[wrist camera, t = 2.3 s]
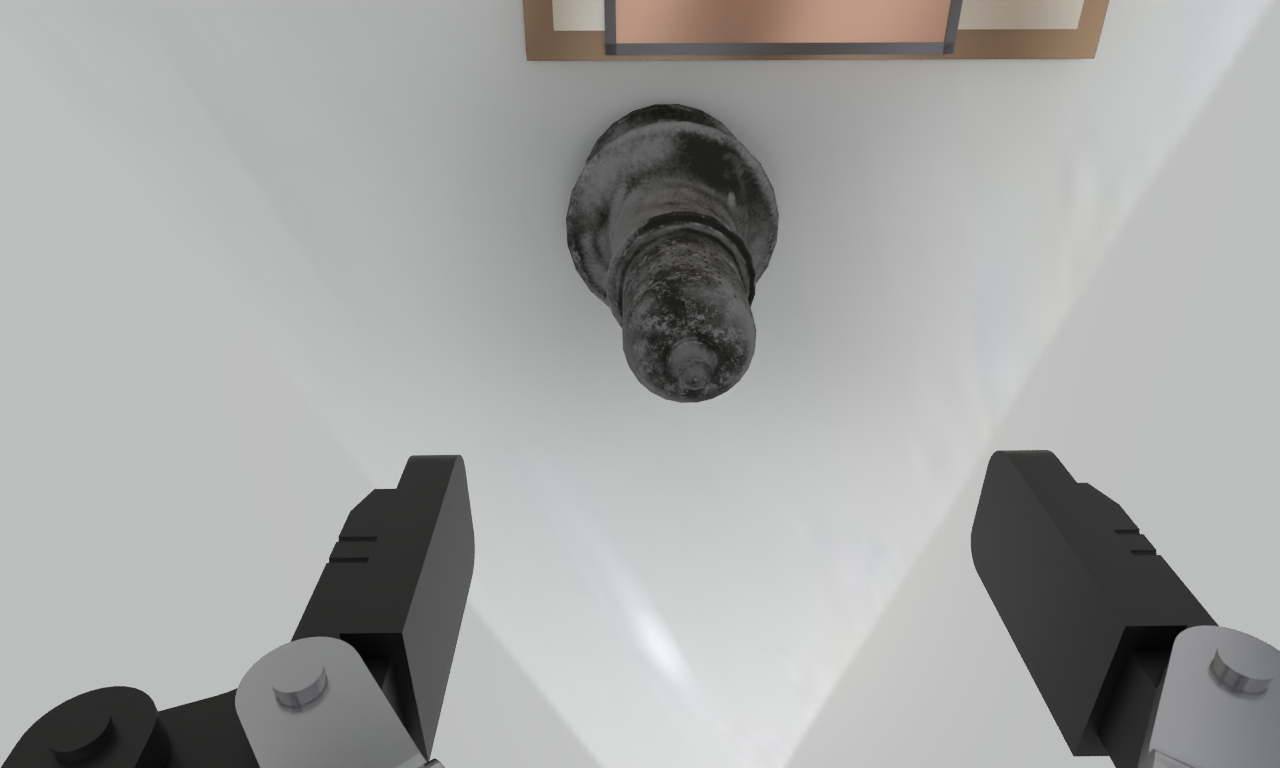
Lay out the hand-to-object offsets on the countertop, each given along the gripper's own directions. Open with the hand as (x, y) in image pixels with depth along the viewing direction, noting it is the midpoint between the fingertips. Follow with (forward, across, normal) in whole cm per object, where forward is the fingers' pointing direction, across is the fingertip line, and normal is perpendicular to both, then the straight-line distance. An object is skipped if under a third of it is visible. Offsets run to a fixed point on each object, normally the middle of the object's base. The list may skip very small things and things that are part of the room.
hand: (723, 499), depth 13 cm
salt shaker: (+16, 0, 0) cm, 16 cm away
